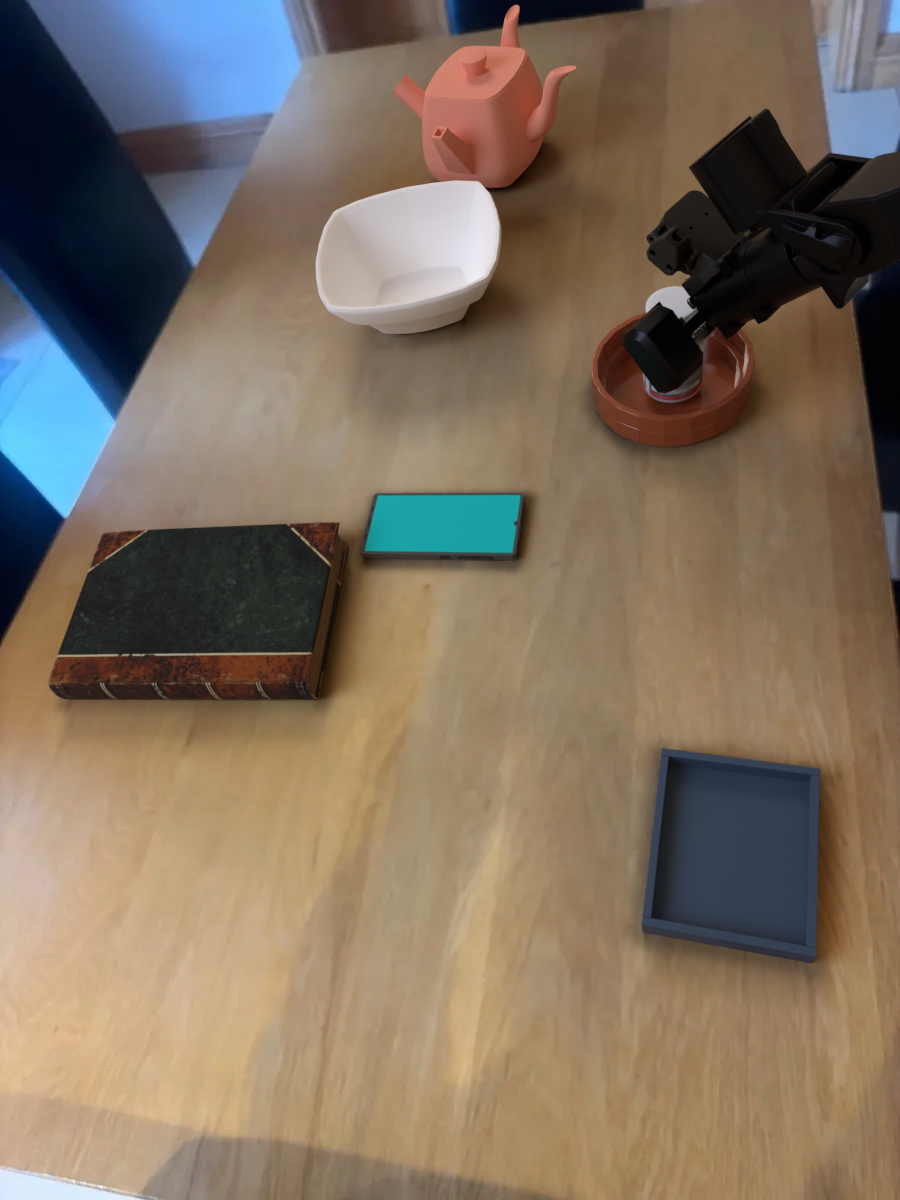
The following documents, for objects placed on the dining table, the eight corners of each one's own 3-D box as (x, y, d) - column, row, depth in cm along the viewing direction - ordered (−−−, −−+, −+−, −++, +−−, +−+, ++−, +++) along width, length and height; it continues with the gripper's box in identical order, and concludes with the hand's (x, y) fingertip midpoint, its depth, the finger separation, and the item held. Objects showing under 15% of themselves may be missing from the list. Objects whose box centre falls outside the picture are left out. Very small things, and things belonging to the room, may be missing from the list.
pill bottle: (715, 386, 89) (718, 304, 81) (667, 414, 88) (666, 334, 80) (678, 355, 92) (678, 273, 84) (631, 382, 91) (627, 302, 83)
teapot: (529, 105, 124) (516, -5, 113) (585, 171, 113) (576, 57, 102) (405, 154, 123) (379, 49, 112) (450, 225, 113) (426, 116, 102)
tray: (661, 758, 71) (661, 747, 69) (816, 778, 68) (820, 767, 66) (642, 932, 64) (641, 925, 62) (812, 963, 61) (816, 956, 59)
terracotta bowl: (679, 317, 96) (679, 286, 93) (785, 391, 88) (789, 360, 85) (564, 390, 94) (560, 361, 91) (662, 474, 86) (662, 445, 82)
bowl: (334, 383, 101) (309, 322, 94) (340, 265, 113) (318, 204, 106) (518, 350, 98) (507, 285, 91) (505, 233, 110) (494, 167, 103)
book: (350, 542, 89) (119, 550, 94) (339, 519, 86) (101, 530, 91) (319, 704, 79) (65, 703, 85) (306, 685, 76) (43, 685, 82)
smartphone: (374, 493, 90) (524, 492, 86) (376, 498, 91) (525, 498, 87) (358, 554, 86) (515, 556, 83) (361, 559, 87) (516, 561, 83)
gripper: (786, 117, 72) (672, 203, 87) (635, 251, 67) (542, 318, 81) (862, 234, 74) (739, 298, 89) (722, 372, 69) (616, 416, 84)
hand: (660, 329), depth 86 cm, fingers closed on pill bottle, 6 cm apart
